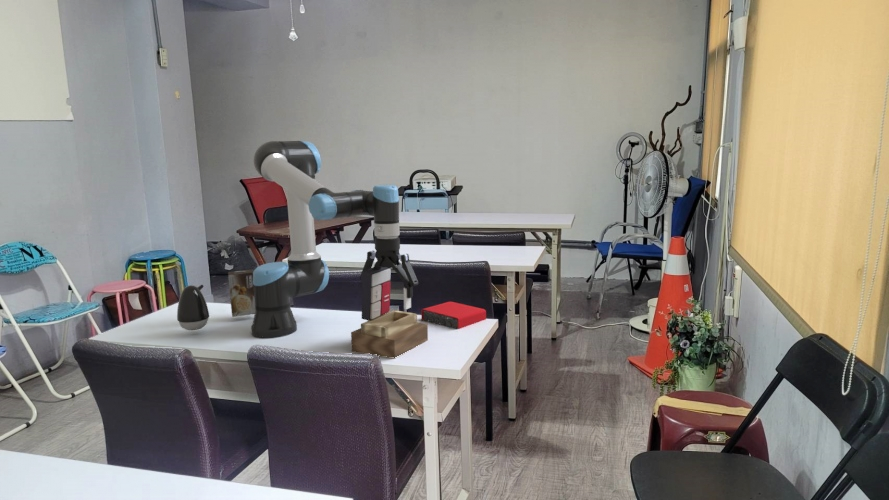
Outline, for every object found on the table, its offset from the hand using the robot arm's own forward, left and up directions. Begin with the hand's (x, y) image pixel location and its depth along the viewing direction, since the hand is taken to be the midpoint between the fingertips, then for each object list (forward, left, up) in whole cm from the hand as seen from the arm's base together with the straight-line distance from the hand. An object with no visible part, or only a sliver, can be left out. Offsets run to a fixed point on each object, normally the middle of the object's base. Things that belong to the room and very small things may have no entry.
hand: (389, 305), depth 182 cm
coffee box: (-71, +5, -13) cm, 72 cm away
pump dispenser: (-72, -16, -13) cm, 75 cm away
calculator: (-5, 0, -4) cm, 7 cm away
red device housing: (+4, +32, -14) cm, 35 cm away
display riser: (0, 0, -13) cm, 13 cm away
